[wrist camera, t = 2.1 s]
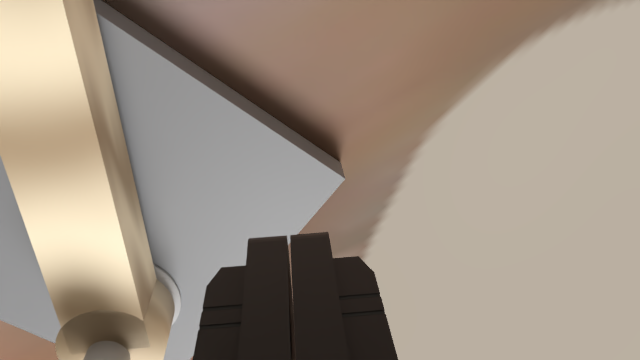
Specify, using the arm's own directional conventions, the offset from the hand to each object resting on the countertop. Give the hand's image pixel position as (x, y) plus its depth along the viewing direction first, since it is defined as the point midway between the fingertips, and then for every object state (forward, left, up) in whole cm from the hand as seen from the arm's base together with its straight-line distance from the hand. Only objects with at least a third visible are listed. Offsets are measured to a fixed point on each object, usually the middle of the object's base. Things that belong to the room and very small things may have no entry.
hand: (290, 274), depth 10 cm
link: (-5, -6, -10) cm, 12 cm away
